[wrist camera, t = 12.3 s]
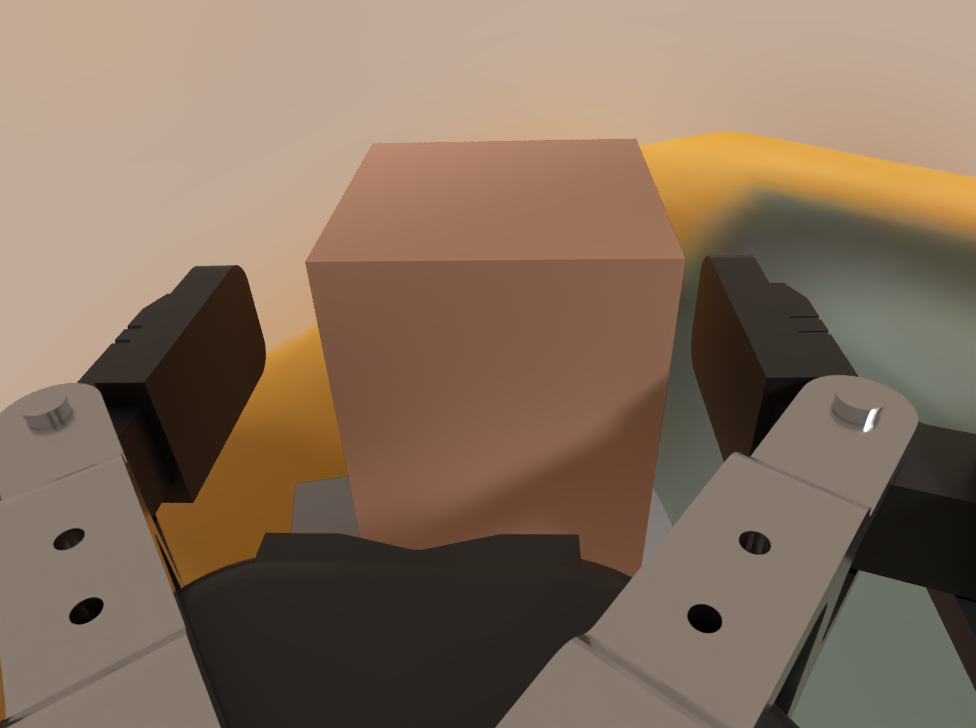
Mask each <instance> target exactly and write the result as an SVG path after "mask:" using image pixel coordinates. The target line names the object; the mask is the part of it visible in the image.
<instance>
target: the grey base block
mask: <svg viewBox="0 0 976 728" xmlns="http://www.w3.org/2000/svg"><path fill="white" fill-rule="evenodd" d="M672 527H673V526H672V523H671V521H670V519H669V517H668V515H667V513H666V511H665V509H664V507H663V505H662V503H661V501H660V499H659V497H658V495H657V493H656V491H655V489H654V487H653V490H652V497H651V504H650V511H649V518H648V525H647V532H646V539H645V546H644V553H643V560H642V565H643V564H644V563H645V561H646V560H647V559H648V558H649V556H650V555H651V554H652V553H653V551H654V550H655V549H656V548H657V546H658V545H659V544H660V543H661V541H662V540H663V539H664V538H665V536H666V535H667V534H668V532H669V531H670V530H671V529H672ZM291 533H341V534H346V535H350V536H355V537H359V538H361V536H360V531H359V526H358V521H357V516H356V511H355V506H354V501H353V496H352V492H351V487H350V482H349V477H348V476H346V477H340V478H333V479H326V480H319V481H312V482H305V483H298V484H296V486H295V495H294V505H293V515H292V524H291Z"/></svg>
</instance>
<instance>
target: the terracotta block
mask: <svg viewBox="0 0 976 728" xmlns="http://www.w3.org/2000/svg"><path fill="white" fill-rule="evenodd" d="M685 259H686V258H685V256H684V253H683V251H682V249H681V246H680V244H679V241H678V239H677V237H676V234H675V232H674V229H673V227H672V224H671V222H670V220H669V217H668V215H667V212H666V210H665V208H664V205H663V203H662V200H661V198H660V196H659V193H658V191H657V188H656V186H655V183H654V181H653V179H652V176H651V174H650V171H649V169H648V167H647V164H646V162H645V159H644V157H643V155H642V152H641V150H640V147H639V145H638V142H637V140H636V139H601V140H600V139H599V140H544V141H492V142H491V141H490V142H489V141H488V142H437V143H385V144H384V143H383V144H382V143H379V144H372V146H371V147H370V149H369V151H368V153H367V154H366V156H365V158H364V160H363V161H362V163H361V165H360V167H359V169H358V170H357V172H356V174H355V176H354V177H353V179H352V181H351V183H350V184H349V186H348V188H347V190H346V191H345V193H344V195H343V197H342V199H341V200H340V202H339V204H338V205H337V207H336V209H335V211H334V212H333V214H332V216H331V218H330V220H329V222H328V223H327V225H326V227H325V228H324V230H323V232H322V234H321V236H320V237H319V239H318V240H317V242H316V244H315V246H314V247H313V249H312V251H311V253H310V255H309V256H308V258H307V260H306V262H305V263H306V268H307V273H308V278H309V282H310V288H311V292H312V298H313V303H314V308H315V313H316V318H317V323H318V328H319V333H320V338H321V342H322V347H323V352H324V357H325V362H326V367H327V372H328V377H329V382H330V387H331V392H332V397H333V402H334V407H335V412H336V417H337V422H338V427H339V432H340V437H341V442H342V447H343V452H344V457H345V462H346V467H347V472H348V477H349V482H350V487H351V492H352V496H353V501H354V506H355V511H356V516H357V521H358V526H359V531H360V536H361V538H363V539H368V540H372V541H377V542H381V543H385V544H390V545H394V546H398V547H403V548H407V549H413V550H422V549H428V548H433V547H438V546H443V545H448V544H453V543H458V542H463V541H468V540H473V539H478V538H483V537H488V536H493V535H498V534H579V541H580V554H581V559H584V560H588V561H592V562H596V563H599V564H602V565H604V566H607V567H610V568H613V569H616V570H618V571H620V572H622V573H624V574H626V575H629V576H631V577H634V575H635V574H636V573H637V571H638V570H639V569H640V568H641V566H642V560H643V553H644V546H645V539H646V532H647V525H648V518H649V511H650V504H651V497H652V490H653V483H654V476H655V469H656V462H657V455H658V448H659V441H660V434H661V427H662V420H663V413H664V406H665V399H666V392H667V385H668V378H669V371H670V364H671V357H672V350H673V343H674V336H675V329H676V322H677V315H678V308H679V301H680V294H681V287H682V280H683V273H684V266H685Z"/></svg>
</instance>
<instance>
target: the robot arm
mask: <svg viewBox="0 0 976 728" xmlns="http://www.w3.org/2000/svg"><path fill="white" fill-rule="evenodd" d="M691 355H692V364H693V369H694V373H695V376H696V379H697V382H698V385H699V388H700V391H701V394H702V397H703V400H704V403H705V406H706V409H707V412H708V415H709V418H710V421H711V424H712V427H713V430H714V433H715V436H716V439H717V442H718V445H719V448H720V451H721V454H722V457H723V460H724V463H723V465H722V466H721V467H720V468H719V470H718V471H717V472H716V473H715V475H714V476H713V477H712V478H711V480H710V481H709V482H708V483H707V485H706V486H705V487H704V488H703V490H702V491H701V492H700V494H699V495H698V496H697V497H696V499H695V500H694V501H693V502H692V504H691V505H690V506H689V507H688V509H687V510H686V511H685V512H684V514H683V515H682V516H681V517H680V519H679V520H678V521H677V522H676V524H675V525H674V526H673V527H672V529H671V530H670V531H669V532H668V534H667V535H666V536H665V538H664V539H663V540H662V541H661V543H660V544H659V545H658V546H657V548H656V549H655V550H654V551H653V553H652V554H651V555H650V556H649V558H648V559H647V560H646V561H645V563H644V564H643V565H642V566H641V568H640V569H639V570H638V571H637V573H636V574H635V575H634V577H631V576H629V575H626V574H624V573H622V572H620V571H618V570H616V569H613V568H610V567H607V566H604V565H602V564H599V563H596V562H592V561H588V560H584V559H581V554H580V541H579V534H498V535H493V536H488V537H483V538H478V539H473V540H468V541H463V542H458V543H453V544H448V545H443V546H438V547H433V548H428V549H422V550H413V549H407V548H403V547H398V546H394V545H390V544H385V543H381V542H377V541H372V540H368V539H363V538H359V537H355V536H350V535H346V534H341V533H265V535H264V538H263V540H262V543H261V545H260V548H259V550H258V553H257V555H256V558H252V559H247V560H244V561H241V562H237V563H234V564H231V565H228V566H225V567H223V568H220V569H218V570H215V571H213V572H210V573H208V574H206V575H204V576H202V577H200V578H198V579H196V580H194V581H192V582H191V583H189V584H187V585H186V586H185V584H184V582H183V579H182V577H181V574H180V572H179V569H178V567H177V564H176V561H175V559H174V556H173V554H172V551H171V549H170V546H169V544H168V541H167V539H166V536H165V534H164V531H163V529H162V526H161V524H160V522H159V520H158V517H157V515H156V512H157V510H158V508H159V507H160V505H161V503H193V502H194V501H195V499H196V497H197V495H198V493H199V491H200V489H201V488H202V486H203V484H204V482H205V480H206V478H207V476H208V474H209V473H210V471H211V469H212V467H213V465H214V463H215V461H216V460H217V458H218V456H219V454H220V452H221V450H222V448H223V446H224V445H225V443H226V441H227V439H228V437H229V435H230V433H231V432H232V430H233V428H234V426H235V424H236V422H237V420H238V418H239V417H240V415H241V413H242V411H243V409H244V407H245V405H246V404H247V402H248V400H249V398H250V396H251V394H252V392H253V390H254V389H255V387H256V385H257V383H258V381H259V379H260V377H261V376H262V373H263V371H264V367H265V360H266V349H265V342H264V337H263V334H262V330H261V327H260V323H259V319H258V315H257V312H256V308H255V305H254V301H253V297H252V294H251V290H250V286H249V283H248V279H247V277H246V274H245V272H244V270H243V269H242V268H241V267H240V266H238V265H228V266H195V267H194V268H192V269H191V270H190V272H189V273H188V274H187V275H186V276H185V277H184V279H183V280H182V281H181V282H180V283H179V284H178V286H177V287H176V288H175V289H174V290H173V292H171V294H167V295H165V296H163V297H161V298H160V299H158V300H156V301H155V302H153V303H152V304H150V305H148V306H147V307H145V308H143V309H142V310H141V311H140V313H139V314H138V315H137V316H136V317H135V318H134V319H133V320H132V321H131V323H130V324H129V325H128V329H124V331H123V332H122V333H121V334H120V335H119V336H118V337H117V338H116V340H115V344H111V345H110V346H109V348H107V350H106V351H105V352H104V353H103V354H102V355H101V356H100V358H99V359H98V360H97V361H96V362H95V363H94V364H93V365H92V366H91V367H90V369H89V370H88V371H87V372H86V373H85V374H84V375H83V376H82V378H81V379H80V380H79V381H78V382H77V383H68V384H60V385H55V386H51V387H47V388H44V389H41V390H38V391H36V392H33V393H31V394H29V395H26V396H25V397H22V398H21V399H19V400H17V401H16V402H14V403H13V404H11V405H10V406H8V407H7V408H6V409H5V410H4V411H2V412H1V413H0V662H1V671H2V680H3V689H4V698H5V708H6V716H5V719H3V720H2V721H1V722H0V728H800V727H799V726H797V725H796V724H795V723H794V722H793V721H792V720H791V716H792V714H793V712H794V710H795V708H796V705H797V703H798V701H799V699H800V696H801V694H802V692H803V689H804V687H805V685H806V682H807V680H808V678H809V676H810V673H811V671H812V669H813V667H814V665H815V662H816V660H817V658H818V656H819V654H820V652H821V650H822V648H823V646H824V644H825V642H826V640H827V638H828V636H829V634H830V632H831V630H832V628H833V626H834V624H835V622H836V620H837V618H838V616H839V614H840V612H841V610H842V608H843V606H844V603H845V601H846V599H847V597H848V595H849V593H850V591H851V589H852V587H853V585H854V583H855V581H856V579H857V577H858V575H859V573H860V570H861V571H865V572H869V573H872V574H876V575H880V576H884V577H888V578H892V579H896V580H900V581H903V582H907V583H911V584H915V585H919V586H923V587H926V588H927V591H928V593H929V595H930V597H931V599H932V601H933V603H934V605H935V607H936V609H937V611H938V613H939V616H940V618H941V620H942V622H943V624H944V626H945V628H946V630H947V632H948V634H949V636H950V638H951V640H952V643H953V645H954V647H955V649H956V651H957V653H958V655H959V657H960V659H961V661H962V663H963V665H964V668H965V670H966V672H967V674H968V676H969V678H970V680H971V682H972V684H973V686H974V688H975V690H976V434H972V433H967V432H961V431H956V430H951V429H946V428H940V427H936V426H931V425H927V424H923V423H920V422H918V415H917V412H916V410H915V408H914V407H913V405H912V404H911V403H910V402H909V401H908V400H907V399H906V398H905V397H904V396H902V395H901V394H900V393H898V392H897V391H895V390H893V389H892V388H890V387H888V386H885V385H883V384H881V383H878V382H875V381H872V380H869V379H865V378H861V377H858V375H857V374H856V372H855V371H854V369H853V367H852V366H851V364H850V363H849V361H848V360H847V358H846V357H845V355H844V354H843V352H842V351H841V349H840V348H839V346H838V345H837V343H836V342H835V340H834V339H833V337H832V335H828V329H827V328H826V326H825V325H824V323H823V322H822V320H819V316H818V314H817V313H816V311H815V310H814V308H813V306H812V305H811V303H810V302H809V300H808V299H807V298H806V297H804V296H803V295H801V294H800V293H798V292H797V291H795V290H794V289H792V288H791V287H789V286H788V285H786V284H785V283H769V282H768V280H767V278H766V277H765V275H764V273H763V272H762V270H761V268H760V267H759V265H758V263H757V261H756V260H755V258H754V257H753V256H752V255H728V256H706V257H705V258H704V260H703V263H702V267H701V273H700V280H699V287H698V295H697V302H696V309H695V316H694V323H693V330H692V340H691Z"/></svg>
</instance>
